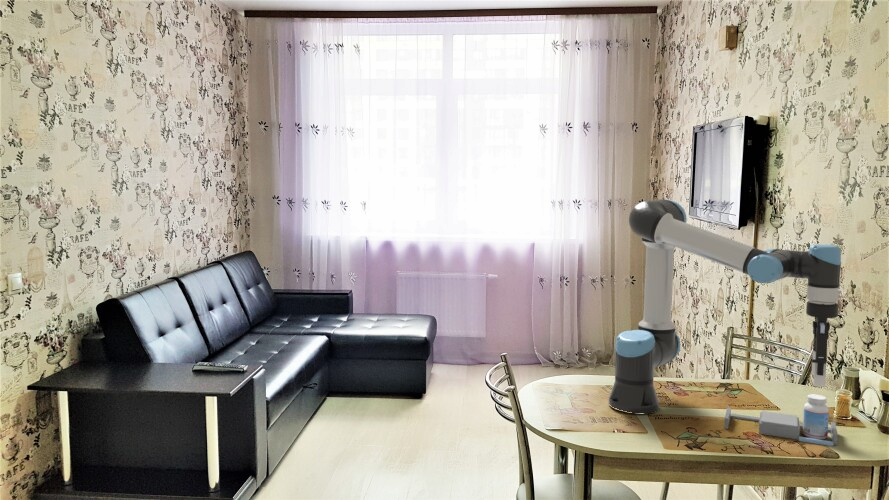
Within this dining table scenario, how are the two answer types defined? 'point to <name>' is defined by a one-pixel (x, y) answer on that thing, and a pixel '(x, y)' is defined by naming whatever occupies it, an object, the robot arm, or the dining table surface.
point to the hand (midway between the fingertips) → (818, 380)
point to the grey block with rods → (782, 426)
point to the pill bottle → (816, 417)
